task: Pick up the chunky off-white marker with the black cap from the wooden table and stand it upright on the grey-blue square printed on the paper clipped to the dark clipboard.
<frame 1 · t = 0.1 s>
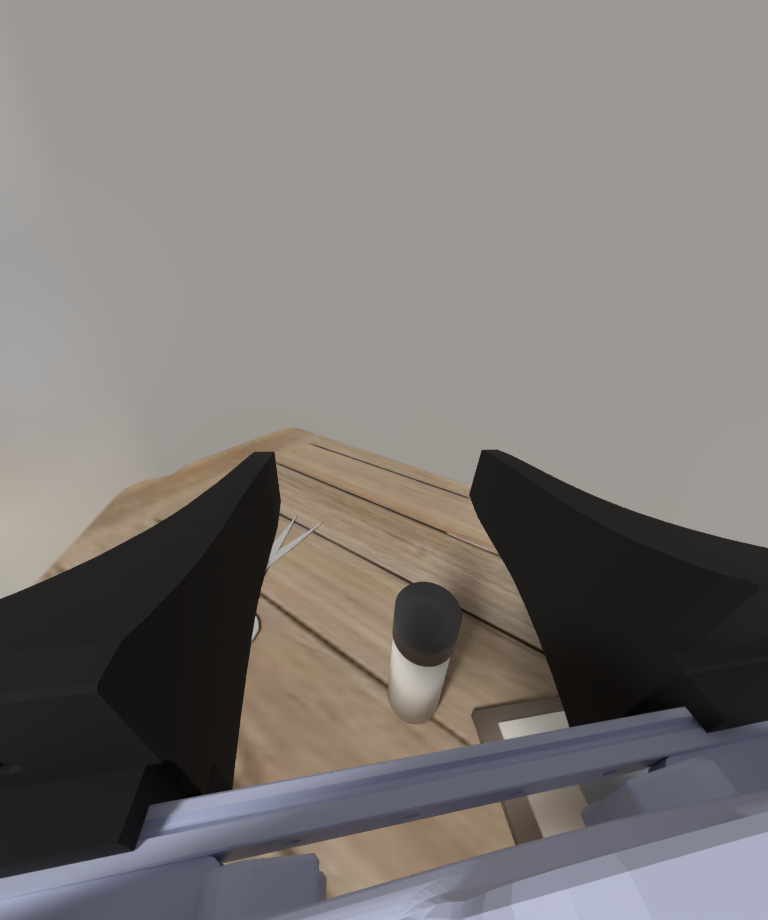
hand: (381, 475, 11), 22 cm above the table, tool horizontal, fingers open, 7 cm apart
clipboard: (647, 835, 18), on the table
scissors: (262, 573, 34), on the table
marker: (413, 692, 24), on the table
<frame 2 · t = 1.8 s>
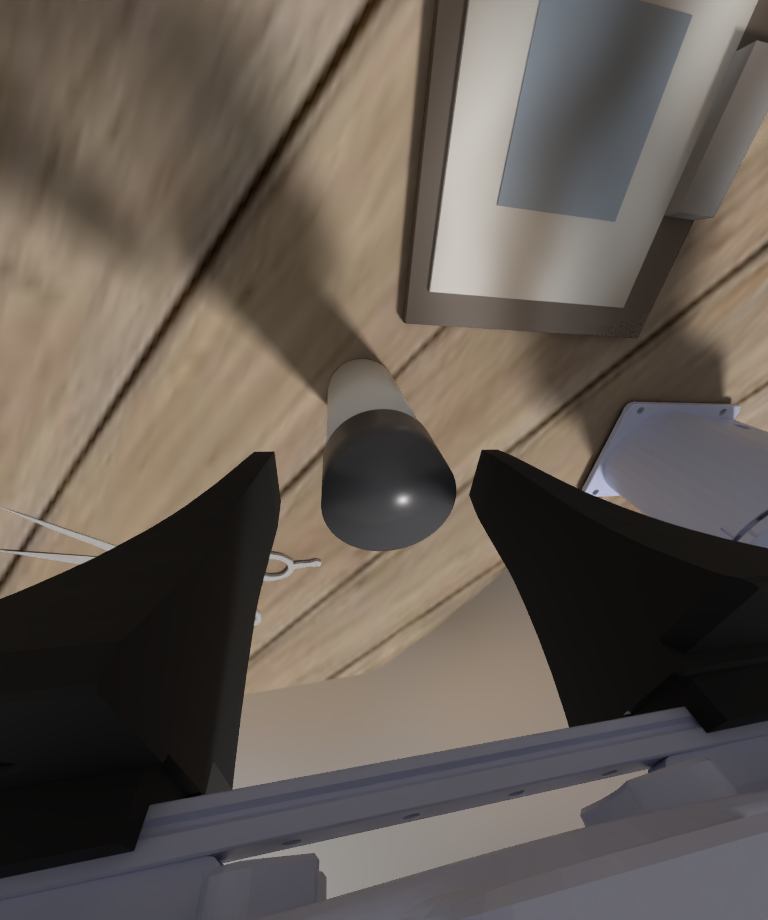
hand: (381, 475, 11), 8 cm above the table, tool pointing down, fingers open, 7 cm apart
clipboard: (582, 129, 13), on the table
scissors: (173, 562, 23), on the table
marker: (362, 393, 18), on the table
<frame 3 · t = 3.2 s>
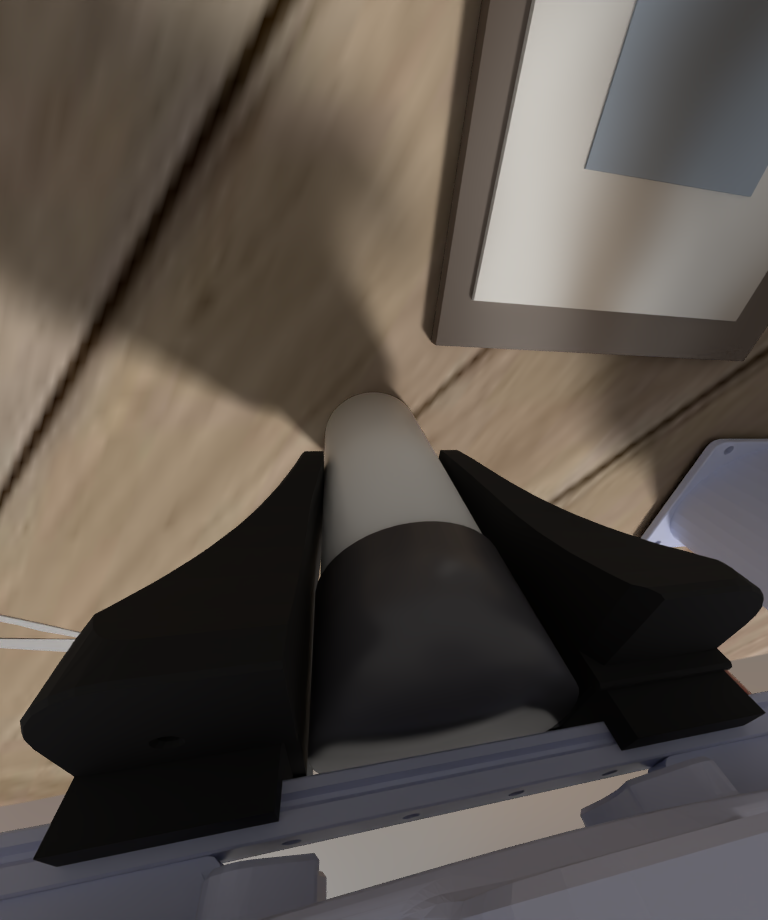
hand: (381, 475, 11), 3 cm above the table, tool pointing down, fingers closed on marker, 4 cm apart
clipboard: (720, 48, 8), on the table
scissors: (131, 635, 19), on the table
marker: (372, 436, 13), on the table, touching gripper
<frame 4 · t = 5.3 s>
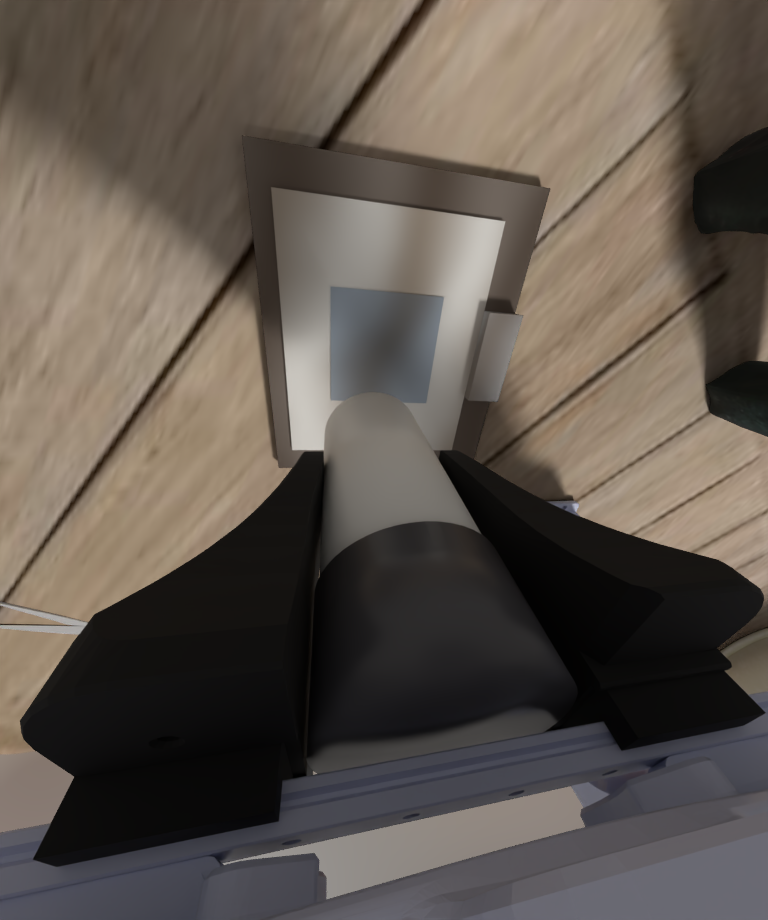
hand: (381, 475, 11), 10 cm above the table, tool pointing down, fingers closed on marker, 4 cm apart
ceramic cat: (716, 314, 20), on the table
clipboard: (390, 349, 18), on the table
kettle: (740, 649, 57), on the table
scissors: (118, 624, 28), on the table
marker: (371, 436, 13), point 7 cm above the table, touching gripper
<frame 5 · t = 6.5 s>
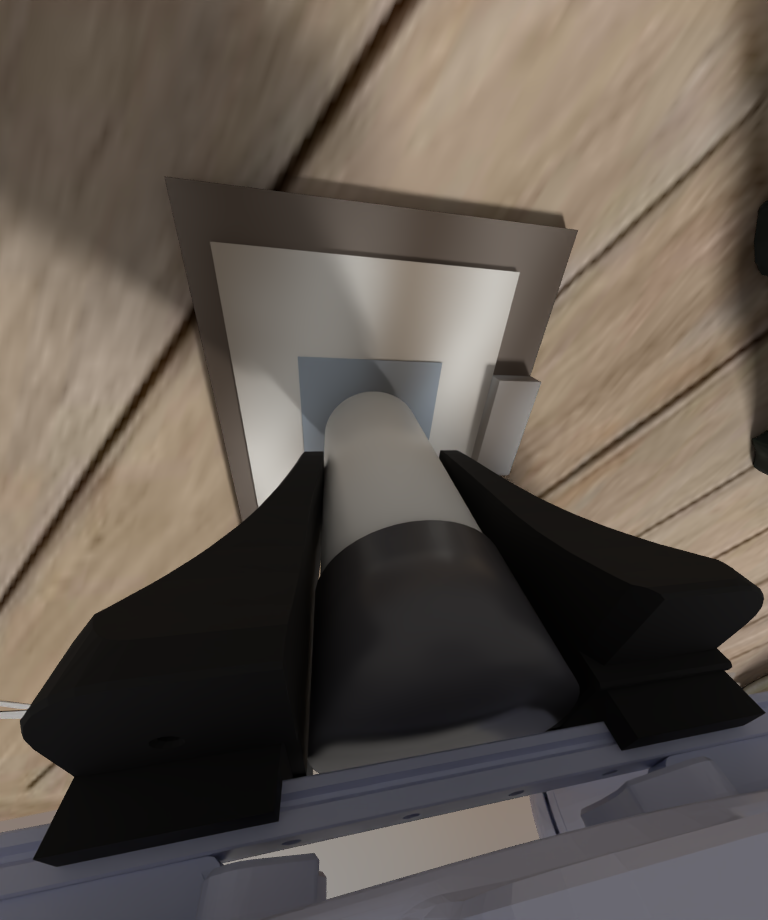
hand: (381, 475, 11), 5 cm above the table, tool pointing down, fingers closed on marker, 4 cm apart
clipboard: (377, 418, 15), on the table
kettle: (764, 684, 53), on the table
scissors: (81, 702, 25), on the table
marker: (371, 436, 13), point 2 cm above the table, touching gripper
when the fingers open (5 cm above the table, at t = 7.3 s): marker stays where it is, resting on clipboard.
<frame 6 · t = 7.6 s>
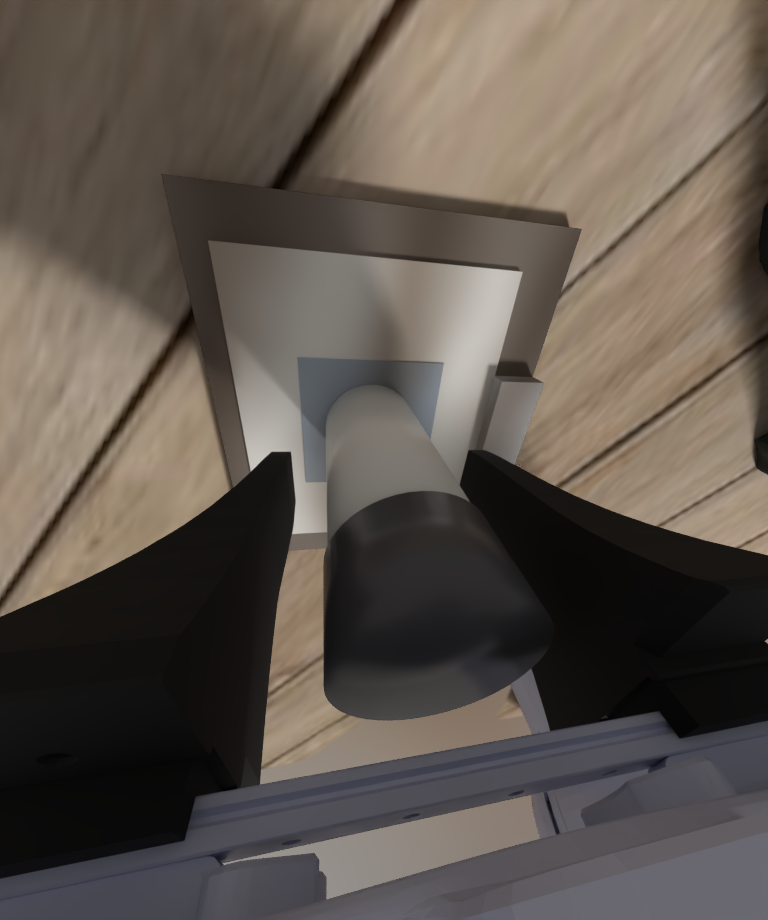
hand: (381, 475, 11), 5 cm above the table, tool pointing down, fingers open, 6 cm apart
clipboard: (378, 419, 15), on the table
marker: (370, 427, 14), point 1 cm above the table, touching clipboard
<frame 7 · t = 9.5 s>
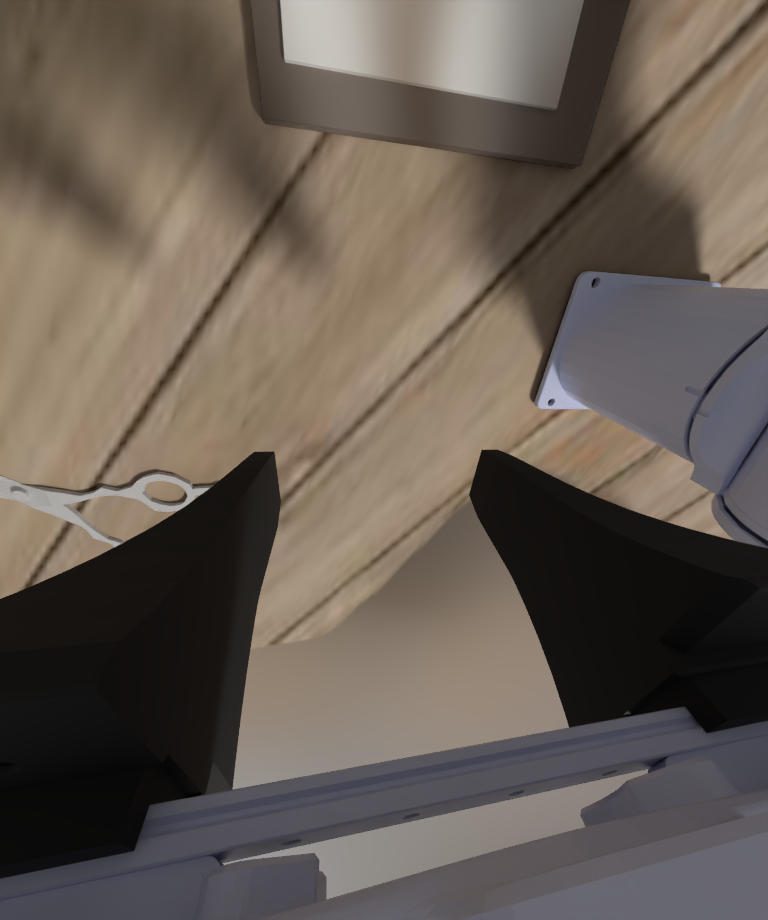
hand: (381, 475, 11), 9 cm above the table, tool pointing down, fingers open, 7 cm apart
scissors: (47, 487, 20), on the table
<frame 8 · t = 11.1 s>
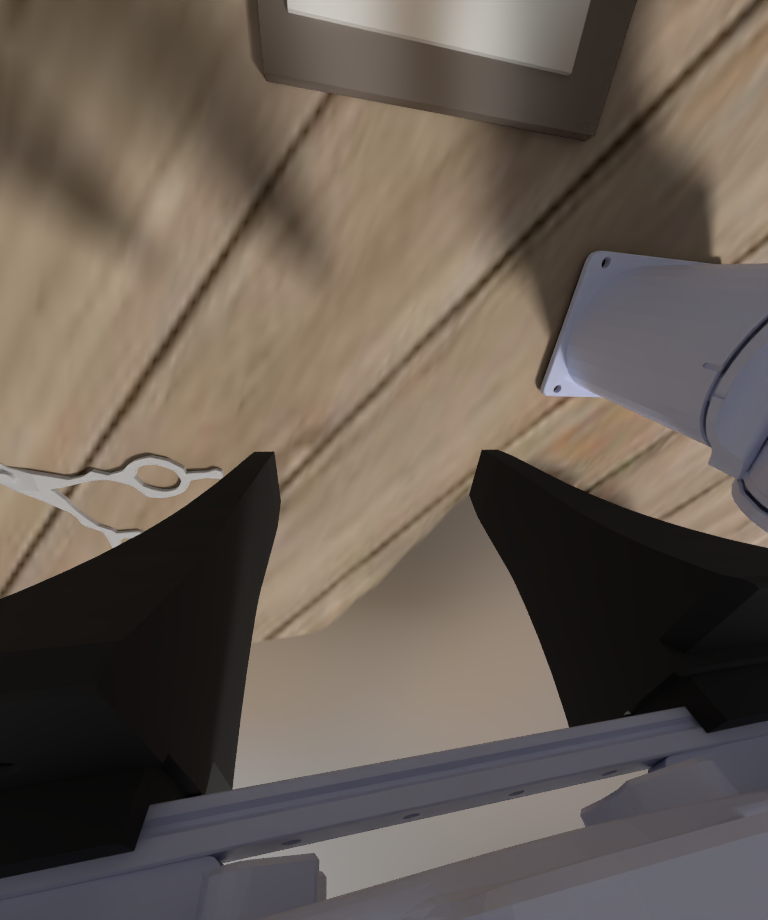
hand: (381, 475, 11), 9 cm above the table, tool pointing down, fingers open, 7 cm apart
scissors: (34, 471, 19), on the table
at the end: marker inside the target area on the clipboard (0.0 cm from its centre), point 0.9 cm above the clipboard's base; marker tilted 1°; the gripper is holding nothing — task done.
